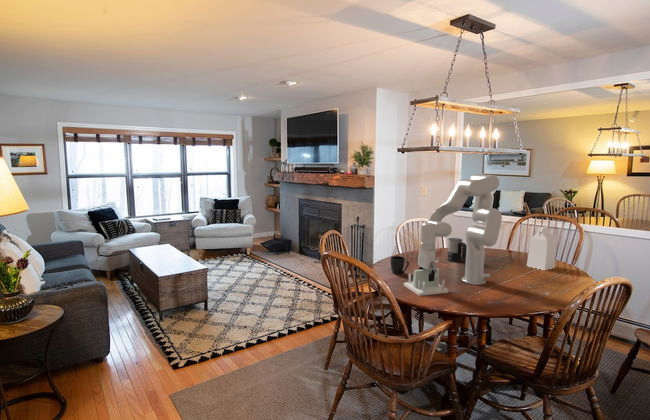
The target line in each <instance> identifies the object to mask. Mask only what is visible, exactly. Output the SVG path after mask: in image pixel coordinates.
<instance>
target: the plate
mask: <svg viewBox="0 0 650 420" xmlns="http://www.w3.org/2000/svg"><path fill="white" fill-rule="evenodd" d="M431 271H432V270H431ZM429 274H430V273H429V270H426V269H421V270H419V269H413V276H414V279H413V278H412V282H413V287H414V288H418V279H421V280H420V287H423V282H426V283H425V287H430V286H436V282H437V277H439V278H440V268H438V267H437V270H436V272H435V277H434V281H430V282H429V281H428V277H429Z"/></svg>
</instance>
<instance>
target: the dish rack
mask: <svg viewBox="0 0 650 420" xmlns="http://www.w3.org/2000/svg"><path fill="white" fill-rule="evenodd" d="M413 279H414V275H413V276H412V273H408V282H407V281H406V282H403V286H404V287H406V288H407V289H409V290H410V291H412V292H413V293H414V294H416V295H417V296H431V295H438V294H448V293H449V291H450V290H449V289H448V288H447V287H445V281H446V280H445V279H441V284H440V276H439V277H437V282H436V286H430V287H425V283H426V282H423V287H420V280H421V279H418V288H414V287H413V281H412V280H413Z"/></svg>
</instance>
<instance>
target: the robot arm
mask: <svg viewBox="0 0 650 420" xmlns="http://www.w3.org/2000/svg"><path fill="white" fill-rule="evenodd" d="M499 186H500V179H499V177H498V176H496V175H494V174H483V173H475V174H472V175H470V176H469V179H465V178H464V179H460V180H458V181H457V182H456V184H455V186H454V188H453V189H452V191H451V193H450V194H449V196H448V198H447V199H446V201H445V202H444V203H443V204H441V205H440V206H438V207H437V208H436V209H435V210H434V211H433V212H432V213H431V215H430V216H429V219H428V220H427V222H422V223H421V225H420V226H421V227H420V244H419V251H418V257H417V258H416V259H417V268H418V270H421V269H426V270H429V273H430V274H429V277H428V281H429V282H430V281H434V277H435V272H436V270H437V268H438V266H437V265H436V251H435V250H436V238H437V237H440V238H447V237H448V236H450V235H451V233H452V225H450V224H449V223H447V222H443V221H442V220H443V219H444V218H446V217H447V216H448V215H451V214H454V213H457V212H459V211H461V210H462V209H463V207H464V204H466V201H467V199H468V198H469V197H475V199H474V205H473V210H472V216H471V219H472V221H473V222H474V223H476V224H481V225H484V226H480V225H470V226H468V227H467V228H466V231H465V240H466V241H465V242H466V243H465V244H466V245H467V250H466V259H465V265H464V266H465V269H464V276H462V277H461V282H463V283H466V284H470V285H475V286H476V285H478V286H479V285H484V284H486V283H487V280H486V278H490V277H491V275H490V273H484V269H485V267H484V266H485V254H486V251H485V247H493V246H495V245H496V244H497V241H498V240H499V235H500V230H501V227H502V222H503V221H502V220H503V216H502V213H501V211H500V210H498V209H497V208H494V207H492V202H493V195H492V192H494V191H496V190H497V189H498V188H499ZM484 246H485V247H484ZM431 270H432V271H431Z"/></svg>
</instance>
